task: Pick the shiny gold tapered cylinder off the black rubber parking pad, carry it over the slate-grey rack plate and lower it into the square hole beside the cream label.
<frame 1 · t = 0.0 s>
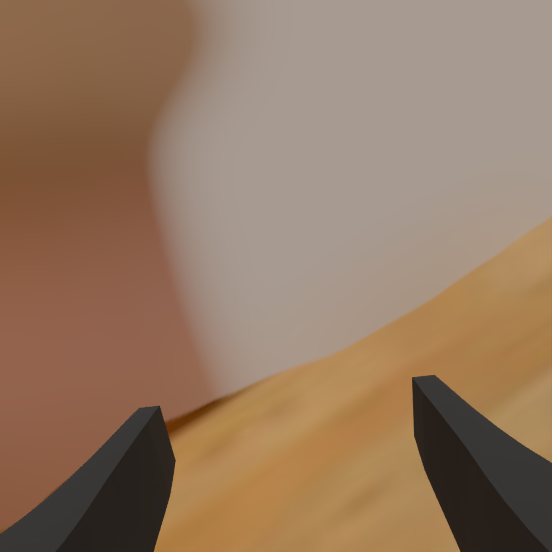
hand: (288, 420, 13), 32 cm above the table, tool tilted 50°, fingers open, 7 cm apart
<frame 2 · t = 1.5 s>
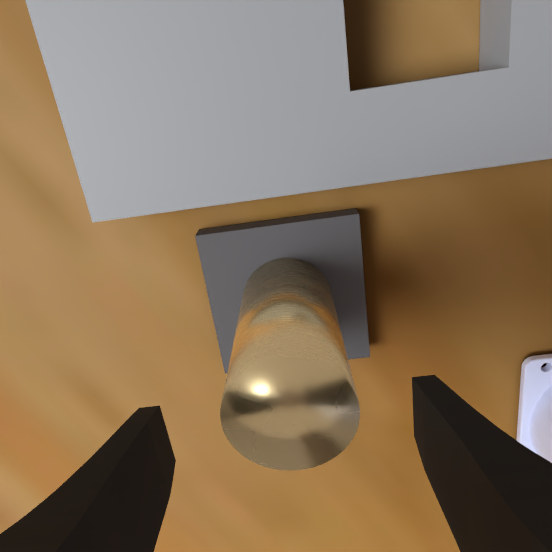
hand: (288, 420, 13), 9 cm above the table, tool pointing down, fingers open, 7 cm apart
shiny gold tapered cylinder: (287, 299, 20), point 1 cm above the table, touching parking pad
parking pad: (286, 290, 21), on the table
rack plate: (327, 16, 17), on the table
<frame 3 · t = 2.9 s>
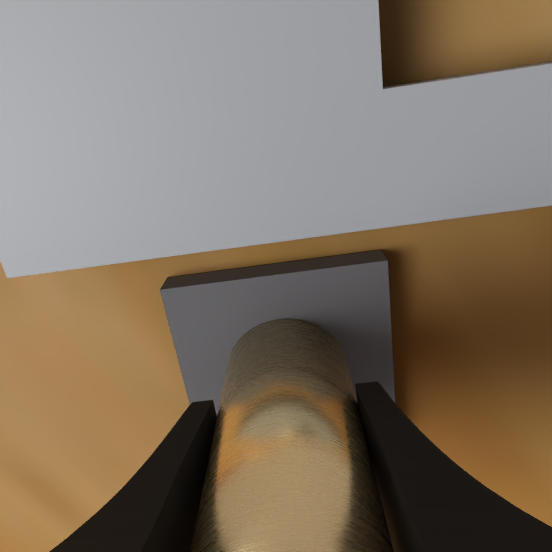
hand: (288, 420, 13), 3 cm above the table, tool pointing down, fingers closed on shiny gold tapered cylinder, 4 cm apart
shiny gold tapered cylinder: (287, 371, 15), point 1 cm above the table, touching gripper, parking pad
parking pad: (286, 355, 16), on the table
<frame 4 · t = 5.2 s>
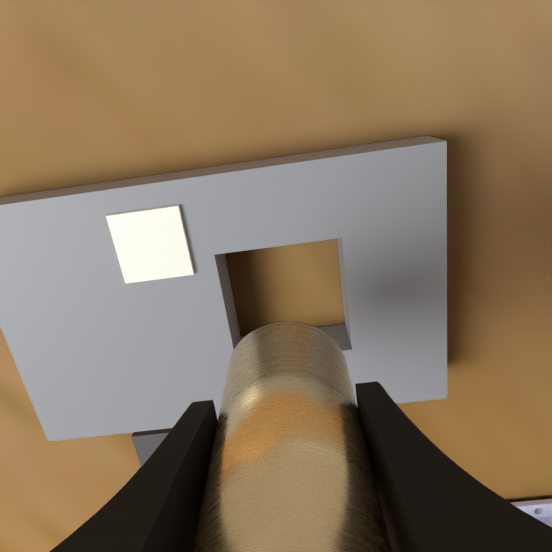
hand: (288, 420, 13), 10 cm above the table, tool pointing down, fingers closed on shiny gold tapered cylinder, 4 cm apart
shiny gold tapered cylinder: (287, 374, 15), point 8 cm above the table, touching gripper
parking pad: (209, 465, 27), on the table
rack plate: (225, 289, 22), on the table
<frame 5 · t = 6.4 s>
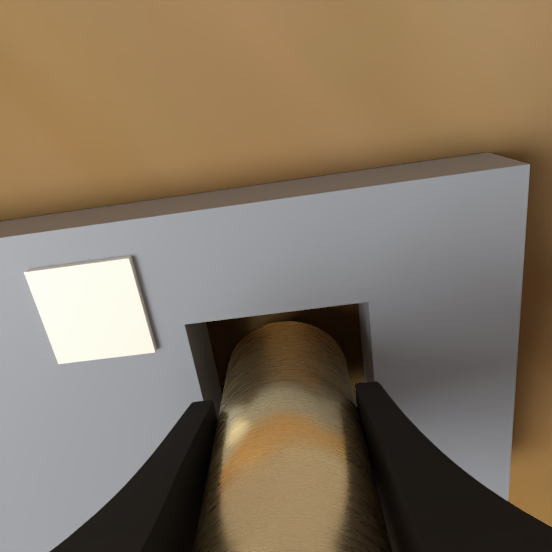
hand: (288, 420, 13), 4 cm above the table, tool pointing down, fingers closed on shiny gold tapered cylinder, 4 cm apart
shiny gold tapered cylinder: (287, 374, 15), point 1 cm above the table, touching gripper
rack plate: (205, 357, 17), on the table
when the fingers open (4 cm above the table, at t = 7.4 s): shiny gold tapered cylinder drops 1 cm, resting in rack plate.
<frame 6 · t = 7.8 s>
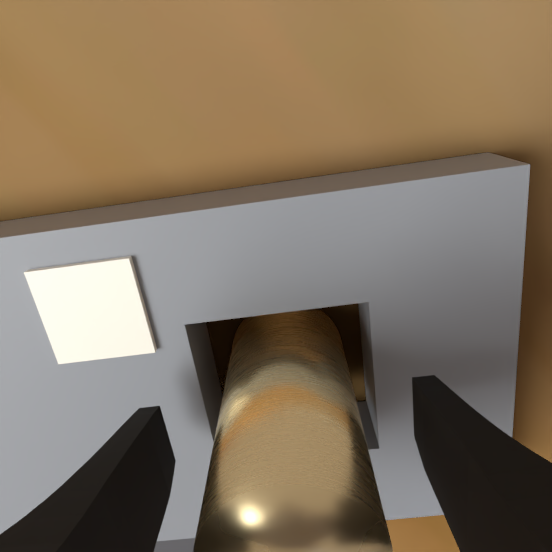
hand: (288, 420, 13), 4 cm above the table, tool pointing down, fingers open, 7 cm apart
shiny gold tapered cylinder: (287, 350, 16), resting in rack plate
rack plate: (205, 357, 17), on the table
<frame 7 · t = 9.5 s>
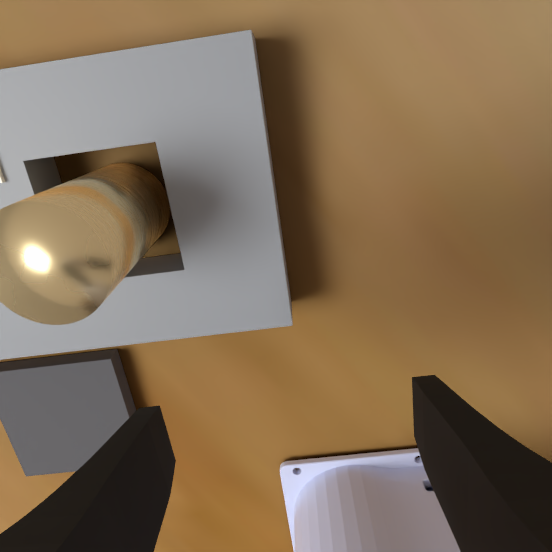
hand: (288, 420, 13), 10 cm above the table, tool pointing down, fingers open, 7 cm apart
shiny gold tapered cylinder: (127, 206, 21), resting in rack plate
parking pad: (73, 409, 25), on the table
rack plate: (64, 212, 21), on the table
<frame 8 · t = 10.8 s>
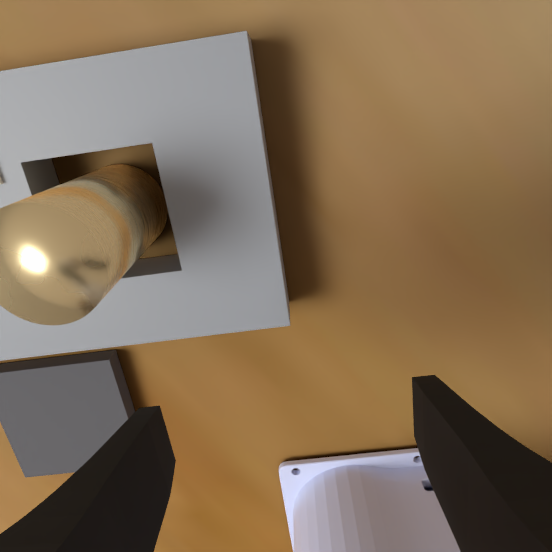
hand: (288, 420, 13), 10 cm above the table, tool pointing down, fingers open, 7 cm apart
shiny gold tapered cylinder: (125, 207, 21), resting in rack plate
parking pad: (72, 410, 26), on the table
rack plate: (62, 214, 21), on the table
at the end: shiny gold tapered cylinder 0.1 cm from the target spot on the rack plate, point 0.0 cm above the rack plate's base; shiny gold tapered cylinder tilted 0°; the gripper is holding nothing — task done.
